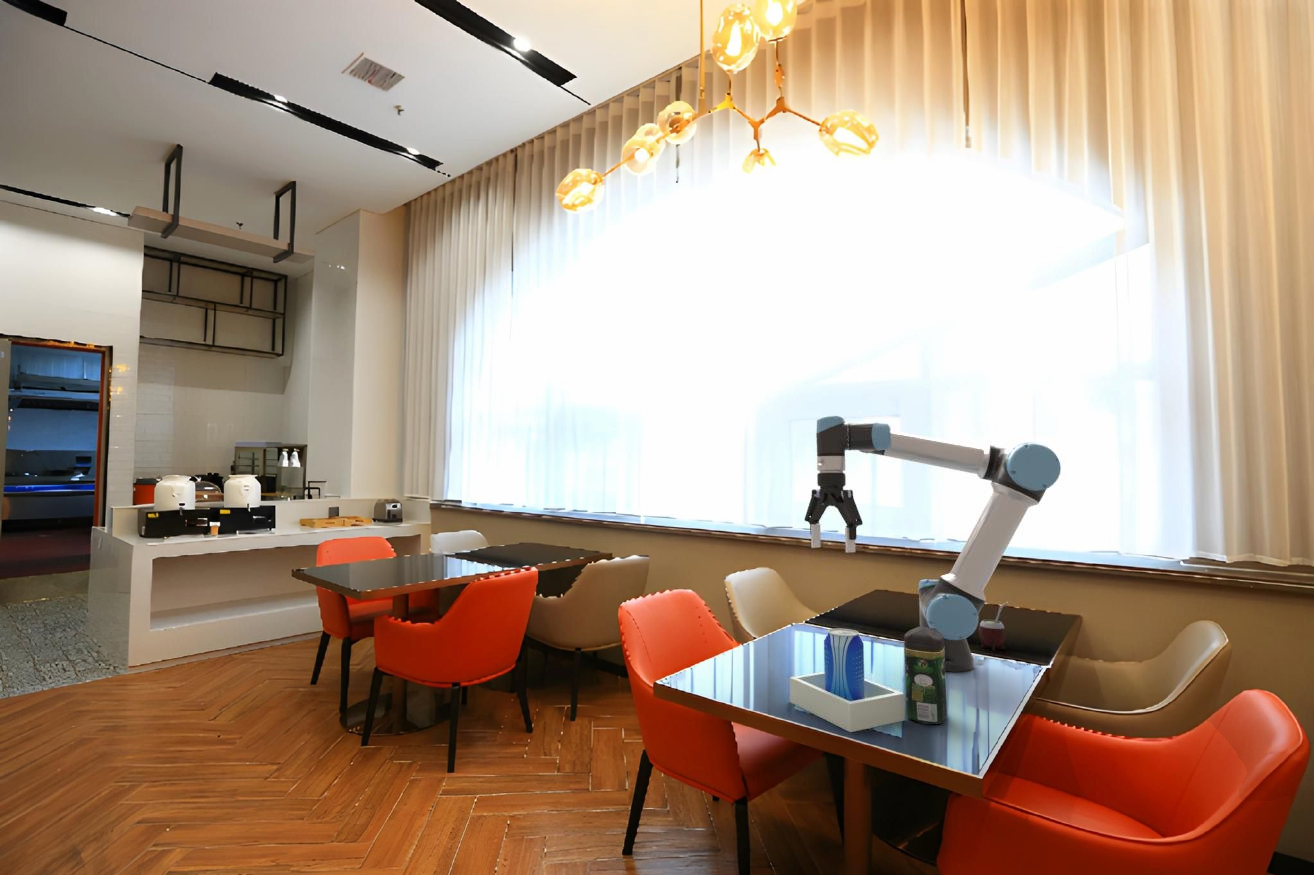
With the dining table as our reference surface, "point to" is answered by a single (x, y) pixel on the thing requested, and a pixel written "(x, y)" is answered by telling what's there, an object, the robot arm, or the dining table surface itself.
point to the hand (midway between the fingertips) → (832, 550)
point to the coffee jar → (925, 675)
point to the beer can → (844, 664)
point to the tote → (848, 703)
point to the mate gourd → (992, 633)
